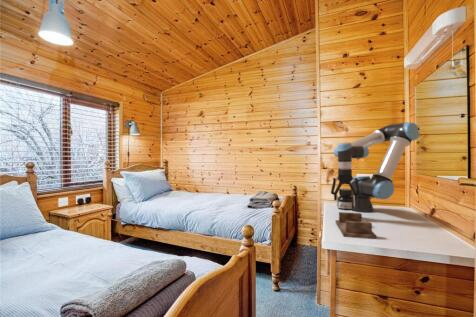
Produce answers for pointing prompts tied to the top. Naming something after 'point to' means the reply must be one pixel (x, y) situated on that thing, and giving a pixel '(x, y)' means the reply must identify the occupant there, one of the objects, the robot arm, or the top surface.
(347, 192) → the ink bottle
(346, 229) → the cradle
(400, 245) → the top surface
